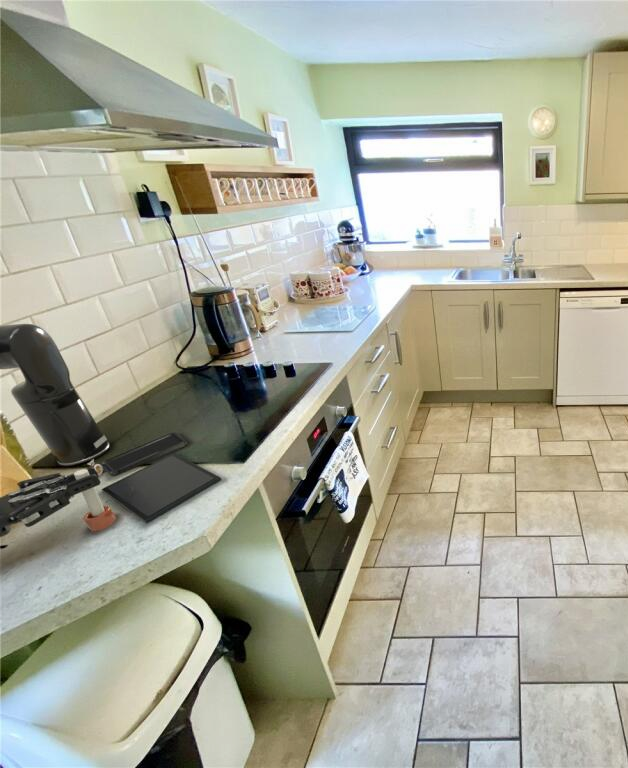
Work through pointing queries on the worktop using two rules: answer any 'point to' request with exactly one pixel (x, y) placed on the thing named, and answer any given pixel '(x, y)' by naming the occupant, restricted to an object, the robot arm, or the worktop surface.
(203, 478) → the tablet
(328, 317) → the worktop surface
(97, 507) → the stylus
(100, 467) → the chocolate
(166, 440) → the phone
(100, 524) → the orange hollow cylinder
